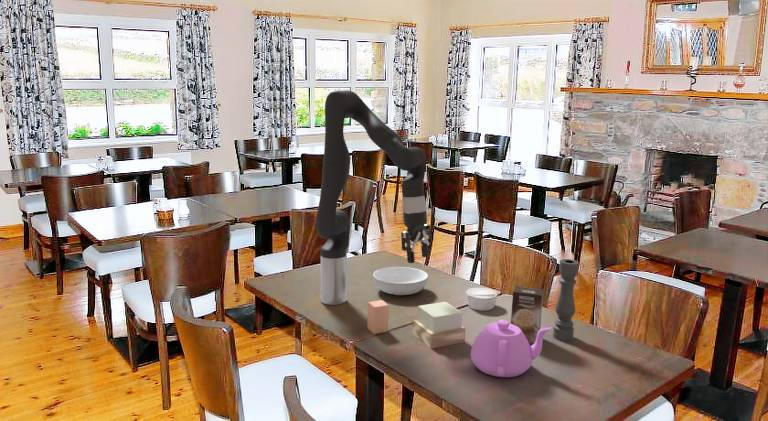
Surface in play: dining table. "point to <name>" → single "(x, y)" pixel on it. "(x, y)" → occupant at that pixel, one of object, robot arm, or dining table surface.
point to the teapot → (505, 349)
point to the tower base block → (438, 335)
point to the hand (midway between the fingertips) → (418, 259)
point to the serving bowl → (400, 280)
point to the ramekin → (481, 298)
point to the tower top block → (439, 317)
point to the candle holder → (566, 301)
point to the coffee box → (527, 311)
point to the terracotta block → (378, 316)
